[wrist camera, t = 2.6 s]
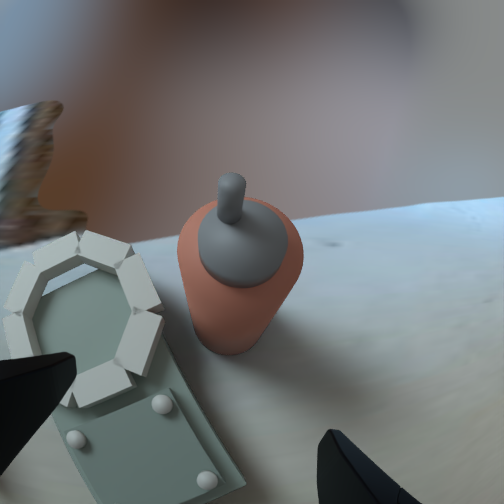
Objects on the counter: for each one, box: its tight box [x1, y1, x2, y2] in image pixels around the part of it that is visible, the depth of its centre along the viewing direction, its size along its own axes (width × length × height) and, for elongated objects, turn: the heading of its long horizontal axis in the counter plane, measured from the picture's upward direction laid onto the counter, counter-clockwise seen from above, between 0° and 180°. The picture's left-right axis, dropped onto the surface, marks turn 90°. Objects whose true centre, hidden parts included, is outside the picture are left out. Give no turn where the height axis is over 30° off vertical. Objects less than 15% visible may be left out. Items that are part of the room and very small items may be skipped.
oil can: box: [177, 173, 303, 355], centre depth 18 cm, size 5×5×15 cm
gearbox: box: [2, 230, 247, 504], centre depth 19 cm, size 21×12×5 cm, turn 30°
